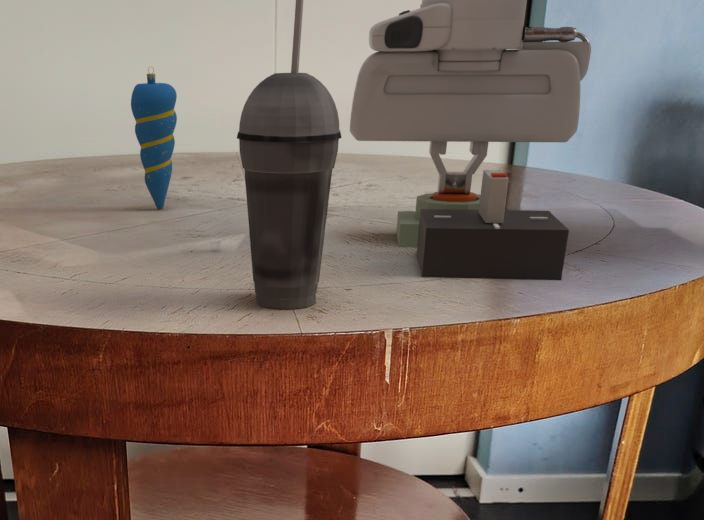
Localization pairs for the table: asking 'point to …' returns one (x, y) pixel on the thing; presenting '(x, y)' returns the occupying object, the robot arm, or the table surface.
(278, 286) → the beverage cup
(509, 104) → the robot arm
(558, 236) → the block
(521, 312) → the table surface
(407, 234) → the housing
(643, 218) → the table surface
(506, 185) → the knob
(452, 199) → the button
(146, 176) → the ornament
